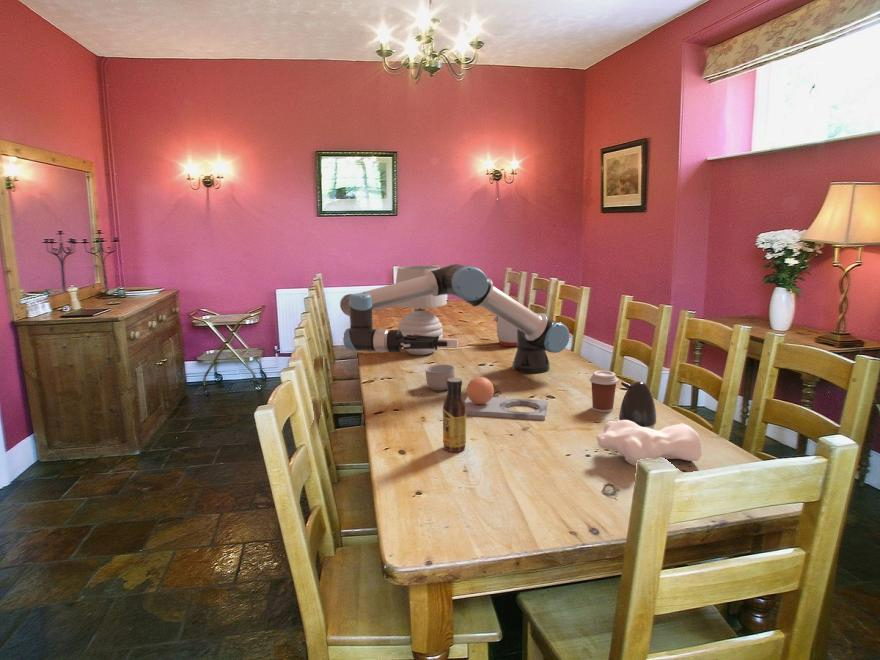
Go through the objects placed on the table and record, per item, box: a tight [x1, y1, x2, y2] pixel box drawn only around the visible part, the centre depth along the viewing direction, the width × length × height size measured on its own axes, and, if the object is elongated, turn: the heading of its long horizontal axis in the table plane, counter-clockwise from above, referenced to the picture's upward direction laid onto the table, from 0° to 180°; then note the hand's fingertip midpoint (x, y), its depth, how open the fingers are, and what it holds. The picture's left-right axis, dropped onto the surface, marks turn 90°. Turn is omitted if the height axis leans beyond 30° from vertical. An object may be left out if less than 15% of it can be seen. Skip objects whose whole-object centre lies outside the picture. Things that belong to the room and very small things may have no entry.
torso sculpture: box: [596, 420, 702, 467], centre depth 146 cm, size 18×10×25 cm
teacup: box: [424, 363, 456, 392], centre depth 212 cm, size 14×11×8 cm
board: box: [464, 396, 548, 421], centre depth 187 cm, size 27×15×2 cm, turn 76°
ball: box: [466, 376, 495, 404], centre depth 188 cm, size 9×9×9 cm
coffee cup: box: [588, 370, 620, 413], centre depth 185 cm, size 9×9×12 cm
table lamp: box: [392, 265, 448, 356], centre depth 265 cm, size 25×25×40 cm
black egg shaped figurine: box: [618, 381, 657, 429], centre depth 164 cm, size 10×10×15 cm
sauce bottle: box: [442, 377, 467, 453], centre depth 154 cm, size 6×6×20 cm
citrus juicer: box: [492, 316, 517, 347], centre depth 280 cm, size 16×17×20 cm
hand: (457, 343), depth 186 cm, fingers closed
